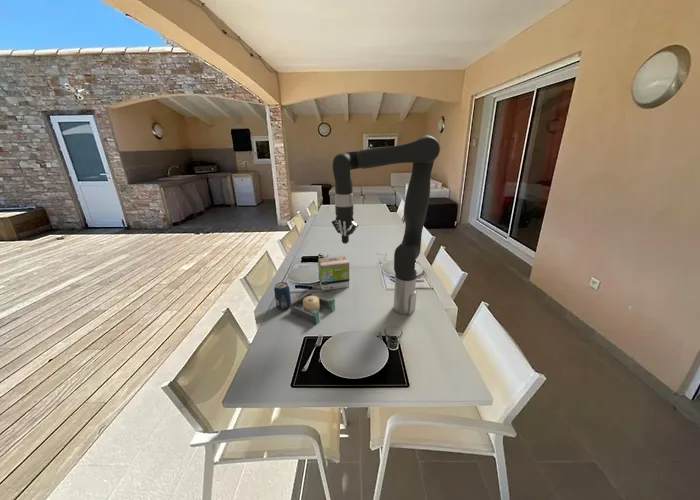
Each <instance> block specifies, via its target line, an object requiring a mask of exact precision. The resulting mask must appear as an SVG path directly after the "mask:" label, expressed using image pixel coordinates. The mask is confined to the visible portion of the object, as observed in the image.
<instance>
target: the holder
mask: <svg viewBox="0 0 700 500" xmlns="http://www.w3.org/2000/svg"><path fill="white" fill-rule="evenodd" d="M308 296H316V297H318V298H319V306H320V307H322V308H325V309H327V310H328V311H329V312H330V313H333V312H334V311H336V299H335V298H333V297H331V298H329V299H328V298H327V299H326V298H324V297H322V296H319V295H316V294H314V293H313V292H312V291H307V292H306V293H304V294H303V295H302V296H300V297H298V298H297V299H295V300H294V301H291V303H290V308H289V310H290V314H292V315H294V316H296V317H298V318H301V319H303V320H305V321H307V322H309V323H312V324H314V325H315V326H316V325H318V324H319V323H320V312H319V311H318V310H315V311H313V314H312V313H310V312H308V311H305V310H304V308H303V299H304V298H305V297H308Z"/></svg>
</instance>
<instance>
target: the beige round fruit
mask: <svg viewBox="0 0 700 500" xmlns="http://www.w3.org/2000/svg"><path fill="white" fill-rule="evenodd" d="M320 308H321V306H320V305H319V298H318V297H316V296H308V297H305V298H304V299H303V307H302V309H303V310H305V311H308V312H310V313H312V314H313V311H315V310H318V311H319V313H320V311H321V310H320Z"/></svg>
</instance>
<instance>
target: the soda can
mask: <svg viewBox="0 0 700 500" xmlns="http://www.w3.org/2000/svg"><path fill="white" fill-rule="evenodd" d="M290 291H291V290H290V286H289V284H288V283H287V282H284V281H282V282H281V281H280V282H278V283H275V285H274V289H273V293H274V299H275V305H276V308H277V309H278V310H279V311H287V310H290V303H292V300H291V299H292V298H291V292H290Z"/></svg>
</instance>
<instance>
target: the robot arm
mask: <svg viewBox="0 0 700 500" xmlns="http://www.w3.org/2000/svg"><path fill="white" fill-rule="evenodd" d="M440 151H441V146H440V143H439V141H438V140H437V139H436V138H435V137H434V136H431V135H429V134H427V135H423V136H419V137H418V138H417V139H416V140H415V141H411V142H408V143H405V144H400V145H392V146H391V145H390V146H377V147H371V148H365V149H361V150H357V151H346V152H345V151H344V152H341V153H338V154H336V156H335V157H334V158H333V160H332V173H333V178H334V179H333V180H334V191H335V197H334V204H335V206H334V207H335V210H334V211H335V219H334V220H332V221H331V224H332V226H333V228H334V229H335V231H336V232H337V234H340V235H341V242H342V244H345V245H346V244H348V243H349V241H350V238H349V237H350V235H352V234H353V233H354V232H355V231H356V230H357V228H358V227H359V224H358V223H356V222H355V219H354V196H353V194H354V191H353V180H352V179H351V178H352V177H351V170H357V169H362V170H363V169H364V170H365V169H366V170H367V169H373V168H377V167H383V166H384V167H385V166H391V165H395V164H406V163H408V164H409V163H411V164H412V169H411V176H410V180H409V182H408V186H407V189H406V195H405V198H404V206H403V218H404V225H405V227H404V229H405V230H404V234H403V238H402V241H401V242H400V244H399V245H398V246H397V247H396V248H395V250H394V255H393V272H394V273H395V274H394V295H393V310H394V311H395V312H396V313H397V314H400V315H409V316H411V314H412V313H414V311H415V310H416V306H417V305H416V303H417V290H416V285H417V270H416V269H415V267H416V260H417V259H418V257H419V256H420V254H421V248H422V247H421V245H422V236H423V235H422V233H423V229H424V225H425V222H426V218H427V214H428V210H429V209H428V207H429V203H430V195H431V179H432V178H431V176H432V170H433V166H434V163H435V159H437V158H438V156H439V155H440Z"/></svg>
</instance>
